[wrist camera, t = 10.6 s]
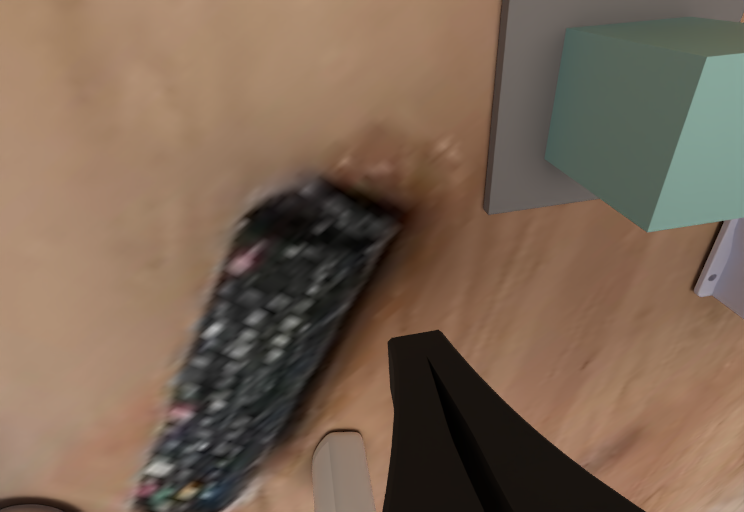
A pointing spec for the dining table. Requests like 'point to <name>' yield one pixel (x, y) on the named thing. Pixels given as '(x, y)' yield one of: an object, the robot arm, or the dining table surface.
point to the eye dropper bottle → (341, 475)
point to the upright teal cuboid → (654, 119)
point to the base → (553, 89)
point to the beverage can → (30, 508)
